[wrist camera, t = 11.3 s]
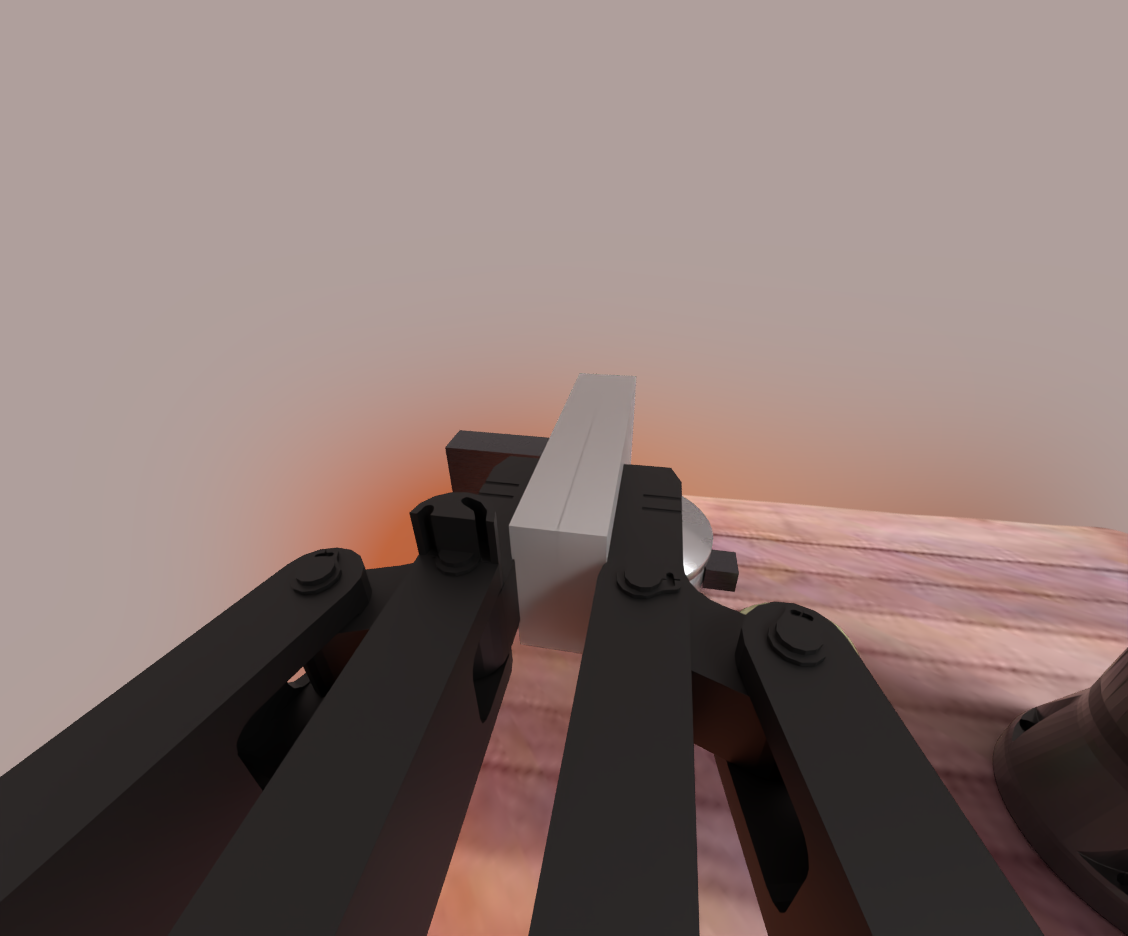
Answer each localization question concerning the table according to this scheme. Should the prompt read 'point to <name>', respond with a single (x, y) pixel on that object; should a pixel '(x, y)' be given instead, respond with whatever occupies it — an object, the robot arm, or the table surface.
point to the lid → (484, 451)
